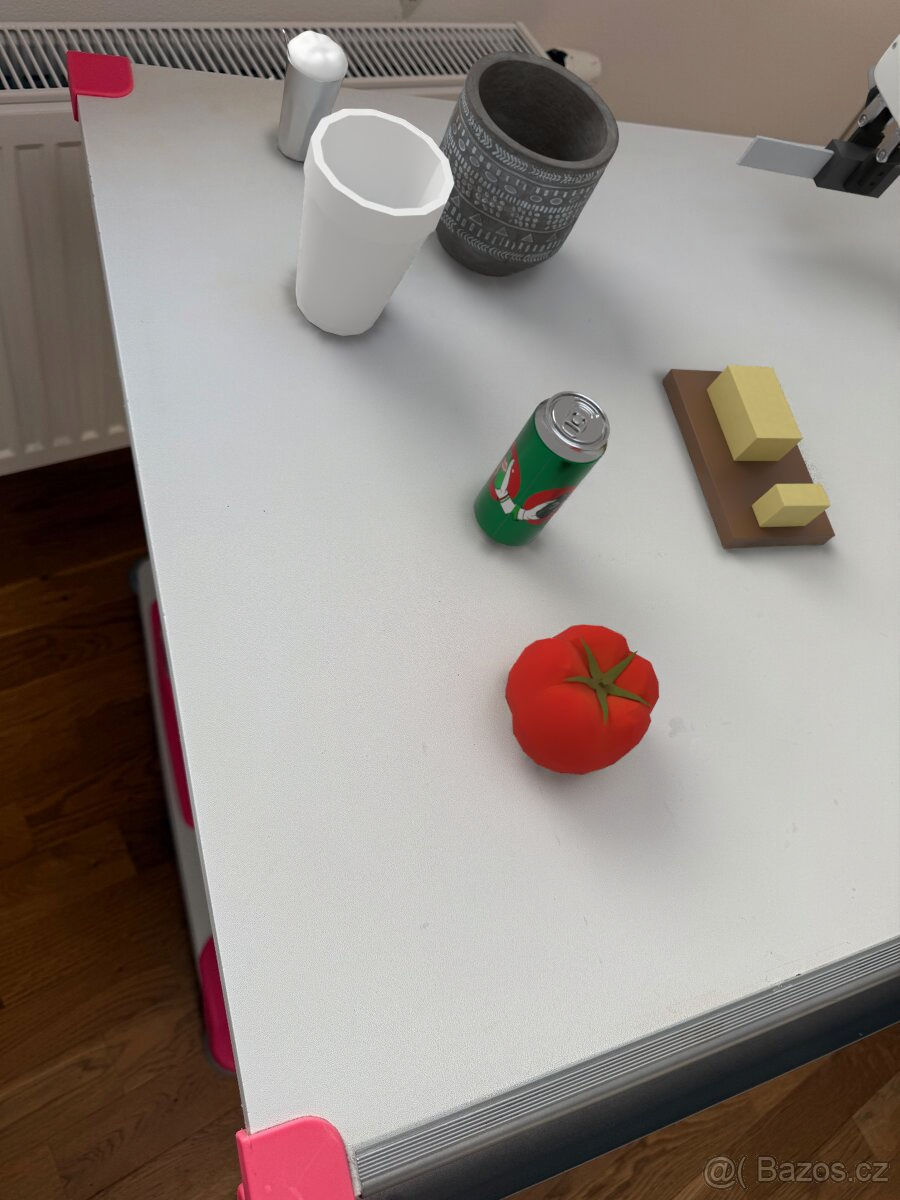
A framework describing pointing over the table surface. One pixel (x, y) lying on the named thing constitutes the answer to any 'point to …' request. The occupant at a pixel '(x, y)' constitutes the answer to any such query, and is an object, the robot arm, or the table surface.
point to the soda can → (542, 468)
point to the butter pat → (790, 505)
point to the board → (735, 471)
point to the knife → (813, 161)
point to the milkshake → (308, 89)
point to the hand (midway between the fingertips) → (849, 177)
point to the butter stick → (753, 413)
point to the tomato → (580, 699)
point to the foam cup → (364, 214)
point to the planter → (521, 161)
